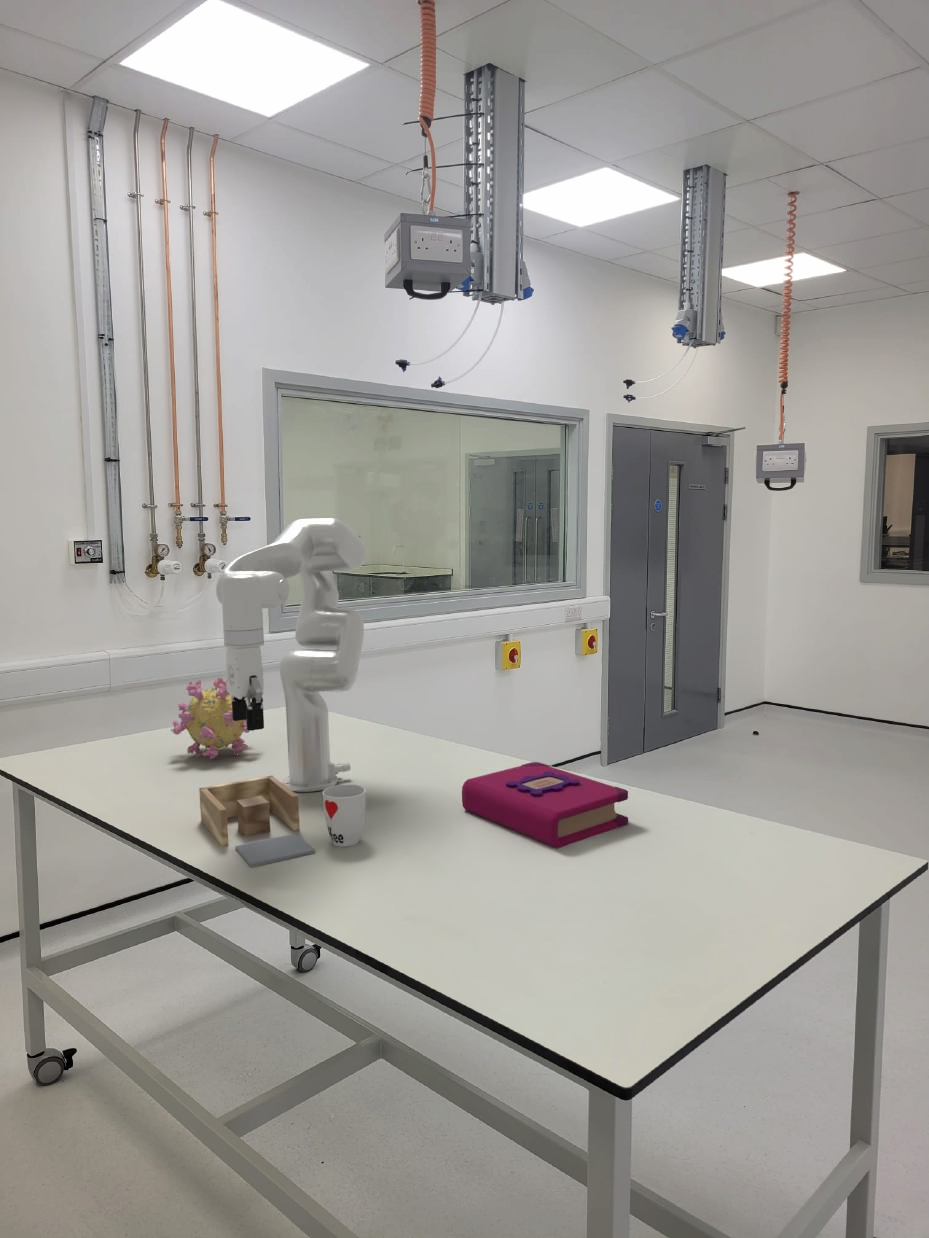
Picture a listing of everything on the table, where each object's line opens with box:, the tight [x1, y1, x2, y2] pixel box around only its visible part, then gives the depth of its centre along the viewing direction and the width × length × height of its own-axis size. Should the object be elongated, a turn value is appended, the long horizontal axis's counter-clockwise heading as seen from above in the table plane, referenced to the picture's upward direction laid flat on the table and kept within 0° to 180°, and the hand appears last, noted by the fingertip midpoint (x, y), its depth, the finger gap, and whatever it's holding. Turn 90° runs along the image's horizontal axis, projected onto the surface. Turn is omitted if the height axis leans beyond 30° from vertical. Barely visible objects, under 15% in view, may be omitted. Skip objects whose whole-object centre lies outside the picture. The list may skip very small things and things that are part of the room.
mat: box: [235, 832, 316, 868], centre depth 162 cm, size 12×10×1 cm
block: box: [236, 796, 271, 837], centre depth 173 cm, size 5×5×6 cm
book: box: [461, 761, 629, 849], centre depth 177 cm, size 21×28×8 cm
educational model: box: [169, 677, 254, 760], centre depth 228 cm, size 23×22×20 cm
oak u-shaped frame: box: [198, 775, 301, 847], centre depth 176 cm, size 15×16×7 cm
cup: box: [322, 784, 367, 848], centre depth 166 cm, size 8×8×10 cm
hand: (248, 724), depth 171 cm, fingers open, 9 cm apart
